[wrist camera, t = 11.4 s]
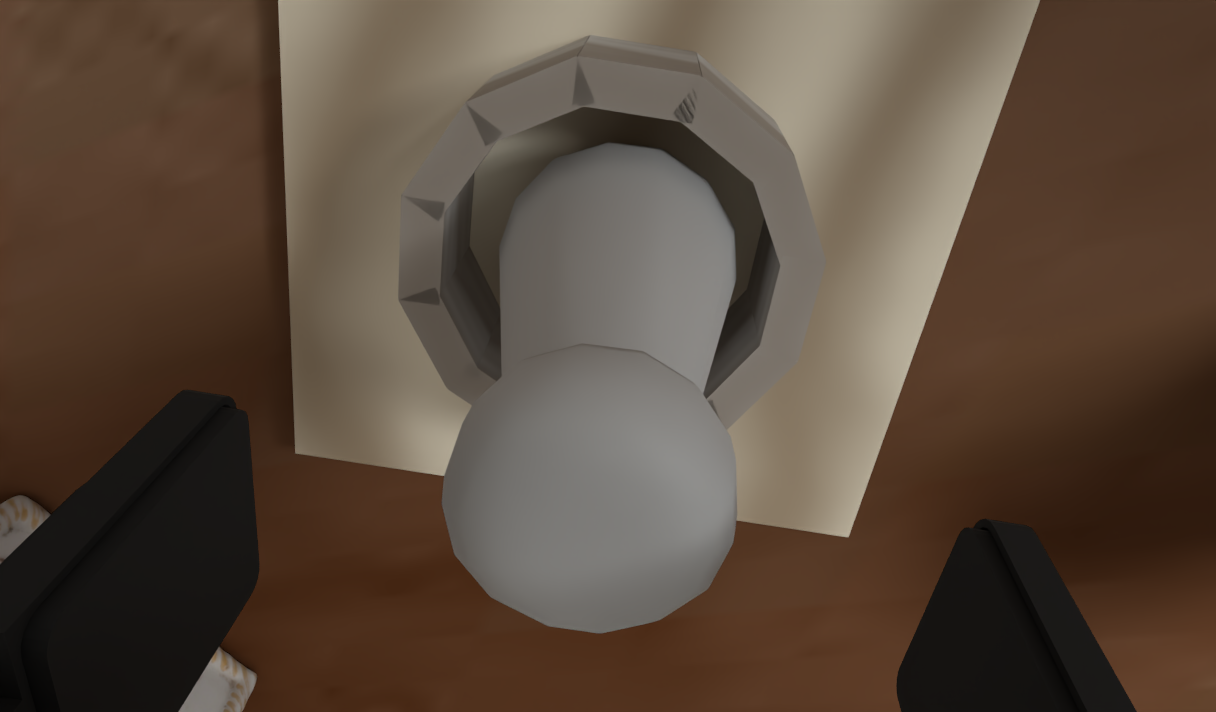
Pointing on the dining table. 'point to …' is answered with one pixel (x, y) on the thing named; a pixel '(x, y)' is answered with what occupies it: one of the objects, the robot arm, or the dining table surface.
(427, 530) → the dining table surface
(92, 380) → the dining table surface
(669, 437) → the salt shaker
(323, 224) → the ring holder
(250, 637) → the dining table surface
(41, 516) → the decorative jar
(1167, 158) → the dining table surface
